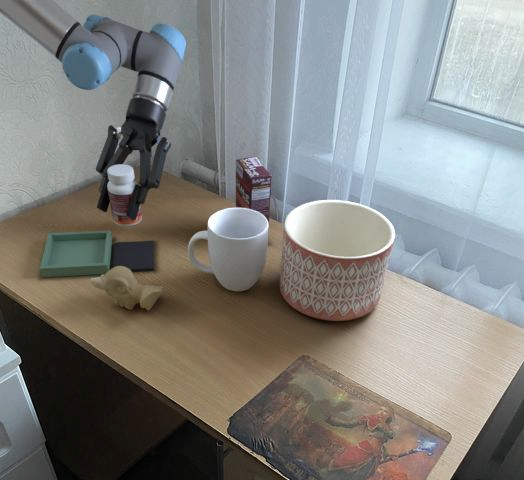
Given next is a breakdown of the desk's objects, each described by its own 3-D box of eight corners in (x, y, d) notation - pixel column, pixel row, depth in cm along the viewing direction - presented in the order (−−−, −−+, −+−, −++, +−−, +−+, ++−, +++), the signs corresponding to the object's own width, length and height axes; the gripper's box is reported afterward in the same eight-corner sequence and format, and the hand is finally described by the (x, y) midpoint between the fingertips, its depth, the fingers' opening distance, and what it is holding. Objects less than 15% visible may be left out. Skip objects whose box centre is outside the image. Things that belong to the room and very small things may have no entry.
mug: (185, 296, 101) (181, 235, 92) (193, 262, 109) (190, 204, 100) (264, 300, 101) (267, 240, 92) (266, 266, 109) (269, 208, 100)
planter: (296, 334, 94) (304, 264, 84) (267, 271, 107) (271, 204, 97) (395, 318, 98) (414, 250, 88) (355, 260, 112) (368, 195, 101)
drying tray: (50, 241, 112) (48, 233, 110) (112, 239, 114) (110, 230, 112) (42, 277, 103) (39, 268, 102) (109, 273, 105) (107, 264, 103)
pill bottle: (140, 228, 112) (134, 177, 104) (110, 227, 112) (102, 176, 104) (144, 213, 117) (138, 163, 109) (115, 212, 116) (107, 162, 108)
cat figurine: (153, 295, 91) (90, 264, 91) (142, 329, 94) (81, 299, 94) (171, 280, 98) (112, 251, 98) (159, 311, 101) (103, 284, 101)
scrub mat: (115, 244, 112) (114, 242, 112) (153, 242, 113) (153, 240, 113) (112, 272, 105) (112, 270, 105) (154, 270, 106) (153, 268, 106)
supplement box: (234, 227, 119) (234, 158, 108) (254, 224, 120) (256, 155, 109) (247, 248, 113) (249, 177, 102) (269, 244, 115) (273, 174, 104)
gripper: (197, 123, 111) (165, 229, 111) (117, 106, 115) (86, 209, 115) (184, 104, 103) (149, 219, 104) (99, 87, 108) (65, 197, 108)
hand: (116, 213), depth 109 cm, fingers closed on pill bottle, 6 cm apart
